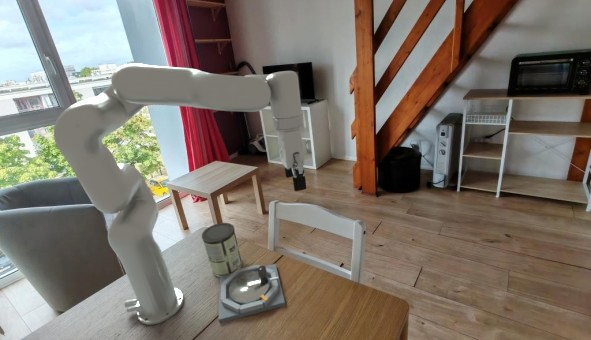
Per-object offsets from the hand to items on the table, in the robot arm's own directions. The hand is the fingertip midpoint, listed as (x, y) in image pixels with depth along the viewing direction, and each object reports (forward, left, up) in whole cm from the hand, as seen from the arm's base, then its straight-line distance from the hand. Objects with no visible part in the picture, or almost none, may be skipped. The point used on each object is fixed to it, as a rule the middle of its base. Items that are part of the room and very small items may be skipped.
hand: (295, 182), depth 82 cm
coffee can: (-25, +11, -31) cm, 41 cm away
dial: (-18, -3, -29) cm, 35 cm away
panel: (-18, -3, -31) cm, 36 cm away
